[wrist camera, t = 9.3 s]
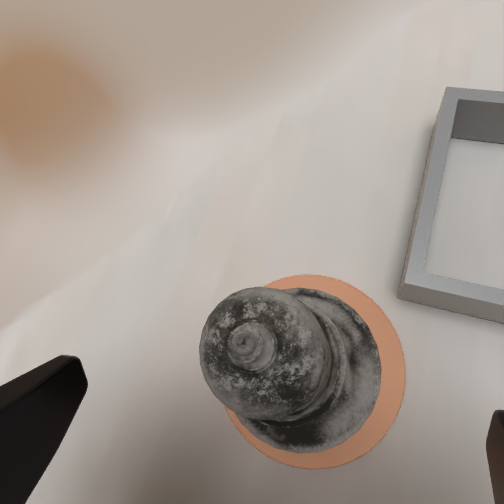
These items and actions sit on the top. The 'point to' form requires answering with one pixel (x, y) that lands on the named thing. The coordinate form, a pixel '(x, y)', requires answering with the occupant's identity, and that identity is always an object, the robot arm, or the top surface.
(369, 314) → the coaster
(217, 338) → the grey tall domed piece
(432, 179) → the tub
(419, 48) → the top surface
